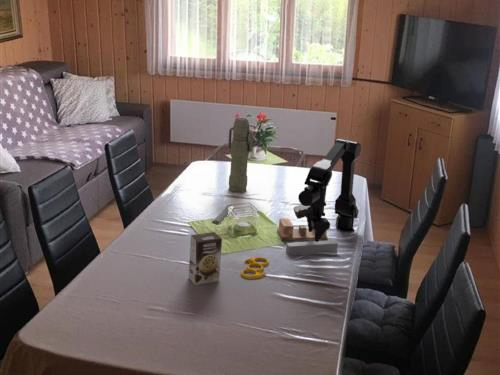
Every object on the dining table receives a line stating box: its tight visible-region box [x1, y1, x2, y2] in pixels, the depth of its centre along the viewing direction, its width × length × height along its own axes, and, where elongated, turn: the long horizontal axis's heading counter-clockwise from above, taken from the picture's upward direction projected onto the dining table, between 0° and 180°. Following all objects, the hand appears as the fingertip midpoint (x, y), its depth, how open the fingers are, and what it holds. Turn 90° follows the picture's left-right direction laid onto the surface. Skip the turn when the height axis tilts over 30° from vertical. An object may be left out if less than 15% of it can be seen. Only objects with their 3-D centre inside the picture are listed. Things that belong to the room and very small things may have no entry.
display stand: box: [276, 217, 329, 242], centre depth 246 cm, size 19×9×6 cm, turn 100°
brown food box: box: [188, 231, 223, 286], centre depth 205 cm, size 9×6×16 cm
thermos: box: [227, 117, 254, 194], centre depth 288 cm, size 9×12×35 cm
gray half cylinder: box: [212, 204, 233, 225], centre depth 262 cm, size 4×20×2 cm, turn 164°
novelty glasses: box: [240, 256, 270, 280], centre depth 217 cm, size 17×2×10 cm
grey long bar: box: [285, 239, 339, 256], centre depth 233 cm, size 20×3×4 cm, turn 106°
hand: (313, 236), depth 231 cm, fingers open, 9 cm apart
